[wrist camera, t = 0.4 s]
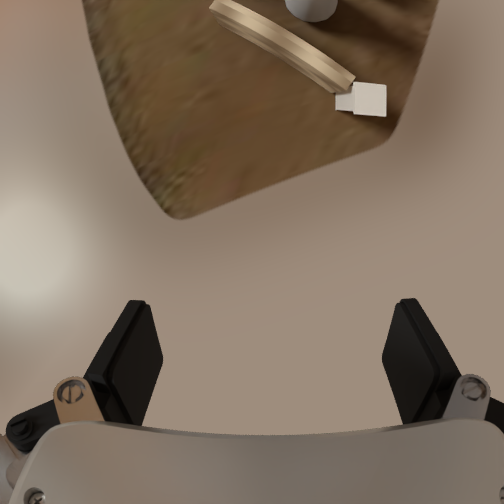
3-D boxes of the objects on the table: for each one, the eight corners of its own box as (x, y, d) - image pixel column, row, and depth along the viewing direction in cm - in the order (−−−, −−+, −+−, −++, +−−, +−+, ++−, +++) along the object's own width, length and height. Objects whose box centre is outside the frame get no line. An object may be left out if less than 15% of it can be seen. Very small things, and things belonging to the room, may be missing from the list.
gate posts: (324, -46, 25) (339, -81, 16) (358, -42, 24) (381, -74, 16) (333, 111, 34) (355, 114, 25) (368, 114, 34) (398, 118, 25)
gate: (339, 81, 32) (355, 77, 25) (331, 92, 32) (346, 90, 26) (227, 14, 29) (219, -6, 22) (219, 25, 29) (209, 7, 23)
